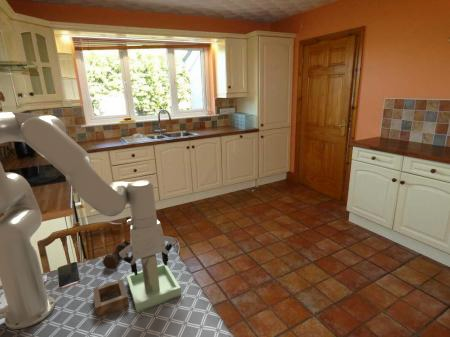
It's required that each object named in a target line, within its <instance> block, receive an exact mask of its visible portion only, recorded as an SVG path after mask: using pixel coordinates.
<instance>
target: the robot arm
mask: <svg viewBox="0 0 450 337" xmlns="http://www.w3.org/2000/svg"><path fill="white" fill-rule="evenodd" d="M8 142H19V143H20V142H21V143H25V144H26V145H28V146H29V147H30V148H31V149H32V150H34V151H35V152H36V153H37V154H38V155H40V156H41V157H43V158H44V159H45V160H46V161H47V162H48V163H49V164H51V165H53V167H54V168H55V169H57V170H58V171H59V172H60V173H61V174H62V175H64V176H65V179H66V180H67V182H68V184H69V185H70V186H71V187H72V189H73V190H74V192H75V193H76V194H77V195H78V197H80V199H82V200H83V201H84V202H85V203H86V204H87V205H88V206H90V207H91V208H93V209H94V210H95V211H96V212H98V213H99V214H101V215H103V216H106V217H116V216H119V215H120V214H121V213H123V211H125V208H126V205H127V204H128V205H129V210H130V212H129V213H130V218H129V219H128V220H126V224H127V226H128V225H129V226H130V228H129V243H130V245H128V246H127V247H126V248H124V249H123V250H122V251H121V252H119V254H120V256H121V257H120V258H122V260H124V262H126V263H128V264H130V270H131V274H133V273H135V276H136V275H138V273H137V272H138V269H137V268H138V267H137V263H136V261H137V260H141V258H144V257H148V256H151V255H154V254H156V255H157V254H160V253H161V259H162V264H164V265H166V266H168V262H169V253H170V250H171V249H172V248H173V245H174V243H175V238H174V237H173V236H168V235H164V231H163V228H162V224H161V221H159V219H158V218H157V217H158V216H157V208H156V202H155V192H154V191H155V190H154V185H153V182H151V181H149V180H146V179H144V180H142V179H141V180H139V179H138V180H136V181H113V182H109V183H107V182H106V181H105V180H104V179H103V178H102V177H101V176H100V175H99V174H98V172H97V171H96V169H95V167H94V166H93V165H94V164H93V163H92V159H91V157H90V154H89V153H88V152H87V151H86V149H84V148H83V147H82V146H81V145H79V144H78V143H77V142H76V141H75V140H74V139H72V137H70V136H69V135H68V134H67V128H66V125H65V123H64V122H63V121H62V120H61V119H60V118H58V117H57V116H54V115H50V114H39V113H28V112H27V113H26V112H15V111H7V110H6V111H0V145H1V144H4V143H8ZM2 214H3V215H2ZM0 215H2V216H0V283H1V286H2V290H3V293H4V296H5V297H4V298H5V300H6V303H7V305H4V306H3V307H2V308H0V320H2V319H4V322H5V326H6V327H7V328H9V329H12V330H19V329H25V328H28V327H31V326H33V325H37V323H39V322H42V321H43V320H45V319H46V318H47V317H48V316H50V314H51V313H52V312H53V310H54V309H55V307H56V301H55V298H54V297H53V296H50V295H48V293H47V289H46V286H45V285H46V284H45V280H44V277H43V273H42V269H41V265H40V264H41V263H40V261H39V260H40V259H39V256H38V254H37V250H36V249H35V247H34V246H33V244H32V243H31V238H32V237H33V236H34V234H35V233H36V232H37V231H38V230H39V228H40V227H41V225H42V222H43V214H42V212H41V209H40V206H39V204H38V201H37V199H36V197H35V195H34V192H33V188H32V187H31V185H30V183H29V182H28V181H27V179H26V178H25V177H24V176H22V175H21V174H18V173H15V172H5V170H4V166H3V164H2V162H1V161H0ZM166 242H168V243H166ZM130 251H131V254H130V256H128V255H127V254H128V253H129V252H130Z"/></svg>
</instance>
